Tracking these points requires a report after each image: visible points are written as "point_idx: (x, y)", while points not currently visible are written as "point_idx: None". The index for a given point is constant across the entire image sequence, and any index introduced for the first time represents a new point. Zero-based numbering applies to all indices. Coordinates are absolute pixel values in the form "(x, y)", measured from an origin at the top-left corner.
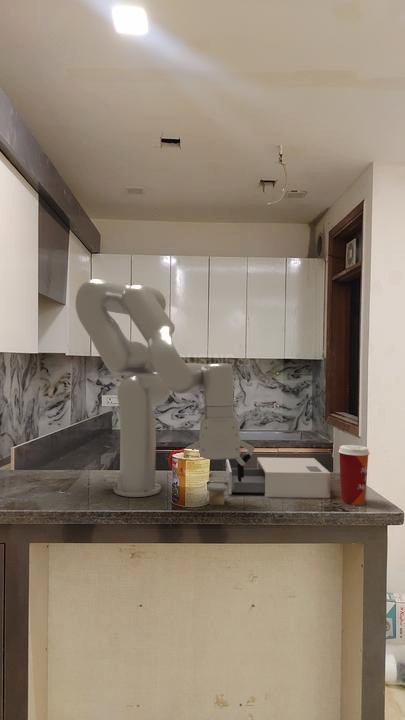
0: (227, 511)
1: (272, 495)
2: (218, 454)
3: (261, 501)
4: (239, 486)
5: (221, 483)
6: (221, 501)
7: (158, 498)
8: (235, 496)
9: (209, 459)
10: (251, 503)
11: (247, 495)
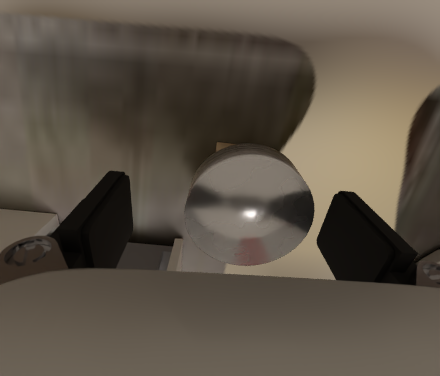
0: (215, 51)
1: (26, 214)
2: (322, 332)
3: (68, 170)
4: (139, 258)
5: (234, 162)
6: (226, 146)
7: (429, 223)
8: (162, 226)
9: (396, 285)
10: (107, 150)
11: None
